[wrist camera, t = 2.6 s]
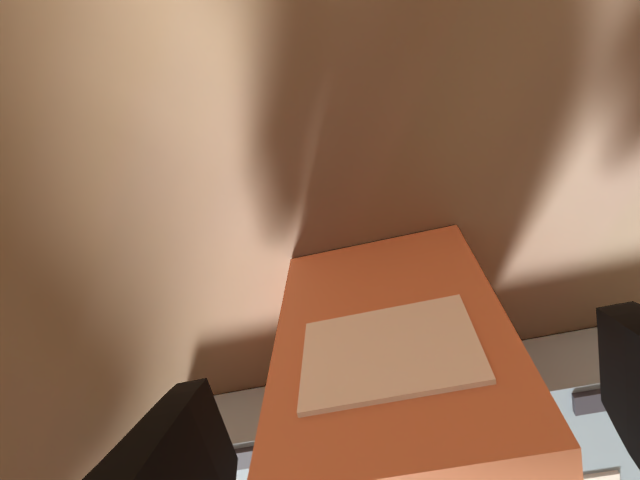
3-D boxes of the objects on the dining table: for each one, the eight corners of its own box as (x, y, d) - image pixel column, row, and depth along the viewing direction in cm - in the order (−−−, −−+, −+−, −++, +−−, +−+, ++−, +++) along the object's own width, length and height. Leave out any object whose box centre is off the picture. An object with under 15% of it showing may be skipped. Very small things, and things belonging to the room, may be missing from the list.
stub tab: (320, 360, 14) (303, 652, 8) (289, 255, 13) (240, 493, 7) (473, 332, 14) (594, 618, 7) (456, 221, 12) (580, 442, 6)
